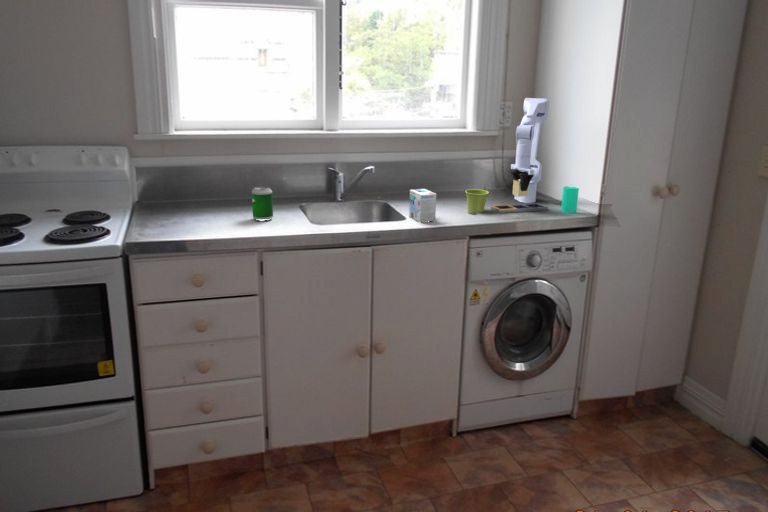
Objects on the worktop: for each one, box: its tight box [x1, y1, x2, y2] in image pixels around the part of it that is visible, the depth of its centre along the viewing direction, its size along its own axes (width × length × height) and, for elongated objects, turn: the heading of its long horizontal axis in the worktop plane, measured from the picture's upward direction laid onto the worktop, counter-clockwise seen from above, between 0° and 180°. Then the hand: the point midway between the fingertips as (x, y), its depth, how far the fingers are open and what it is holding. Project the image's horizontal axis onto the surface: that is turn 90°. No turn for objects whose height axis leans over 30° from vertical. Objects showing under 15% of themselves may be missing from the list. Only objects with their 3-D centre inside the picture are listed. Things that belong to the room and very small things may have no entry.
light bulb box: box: [408, 188, 437, 223], centre depth 251 cm, size 11×7×11 cm, turn 22°
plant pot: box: [464, 188, 490, 215], centre depth 263 cm, size 9×9×9 cm
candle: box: [560, 183, 580, 214], centre depth 264 cm, size 6×6×12 cm
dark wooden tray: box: [490, 203, 549, 214], centre depth 267 cm, size 7×22×2 cm, turn 109°
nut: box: [512, 179, 529, 197], centre depth 264 cm, size 4×4×6 cm
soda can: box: [251, 186, 274, 220], centre depth 246 cm, size 8×8×12 cm
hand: (520, 189), depth 265 cm, fingers closed on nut, 4 cm apart
